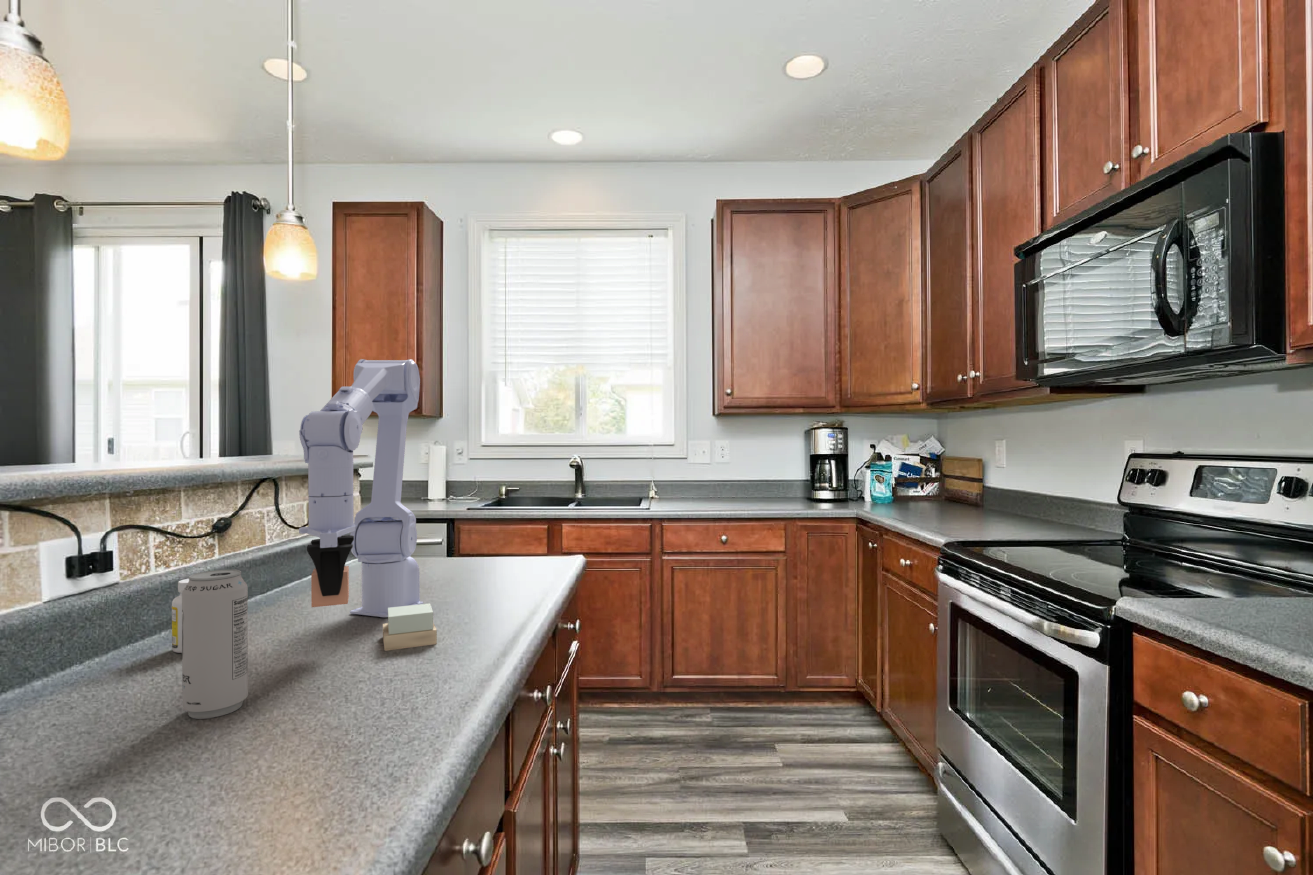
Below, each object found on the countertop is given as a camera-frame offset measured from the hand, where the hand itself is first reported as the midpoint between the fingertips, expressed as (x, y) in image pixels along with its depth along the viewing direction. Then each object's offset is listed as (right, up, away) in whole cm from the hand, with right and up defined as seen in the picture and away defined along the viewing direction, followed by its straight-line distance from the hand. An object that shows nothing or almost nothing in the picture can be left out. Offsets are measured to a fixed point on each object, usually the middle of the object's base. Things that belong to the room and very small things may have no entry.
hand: (331, 591), depth 92 cm
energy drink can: (-3, -9, -20) cm, 22 cm away
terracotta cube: (0, -2, 0) cm, 2 cm away
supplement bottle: (-20, -9, +1) cm, 22 cm away
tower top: (+10, -6, +4) cm, 12 cm away
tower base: (+9, -9, +4) cm, 14 cm away
